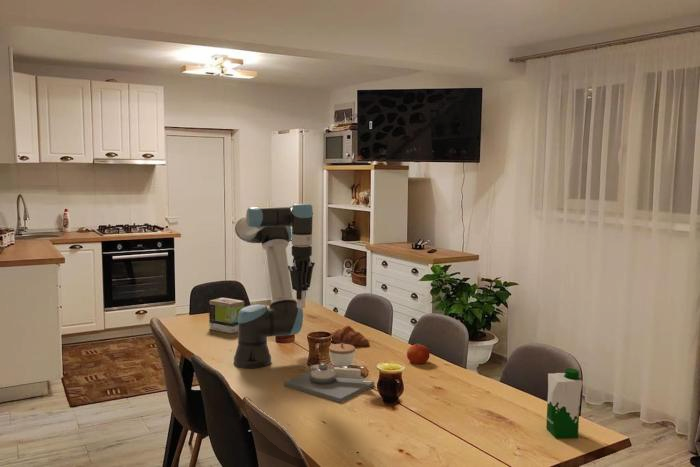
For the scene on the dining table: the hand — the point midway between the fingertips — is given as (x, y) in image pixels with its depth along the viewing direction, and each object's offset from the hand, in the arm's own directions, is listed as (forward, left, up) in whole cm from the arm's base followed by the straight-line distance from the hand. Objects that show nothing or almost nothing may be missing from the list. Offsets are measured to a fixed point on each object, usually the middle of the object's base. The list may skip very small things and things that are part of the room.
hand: (300, 307), depth 224 cm
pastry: (-15, +51, -29) cm, 60 cm away
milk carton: (+94, +15, -28) cm, 99 cm away
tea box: (-74, +31, -28) cm, 85 cm away
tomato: (+25, +47, -28) cm, 60 cm away
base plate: (+13, +2, -28) cm, 31 cm away
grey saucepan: (+14, +4, -26) cm, 30 cm away
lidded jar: (+3, +23, -28) cm, 36 cm away
